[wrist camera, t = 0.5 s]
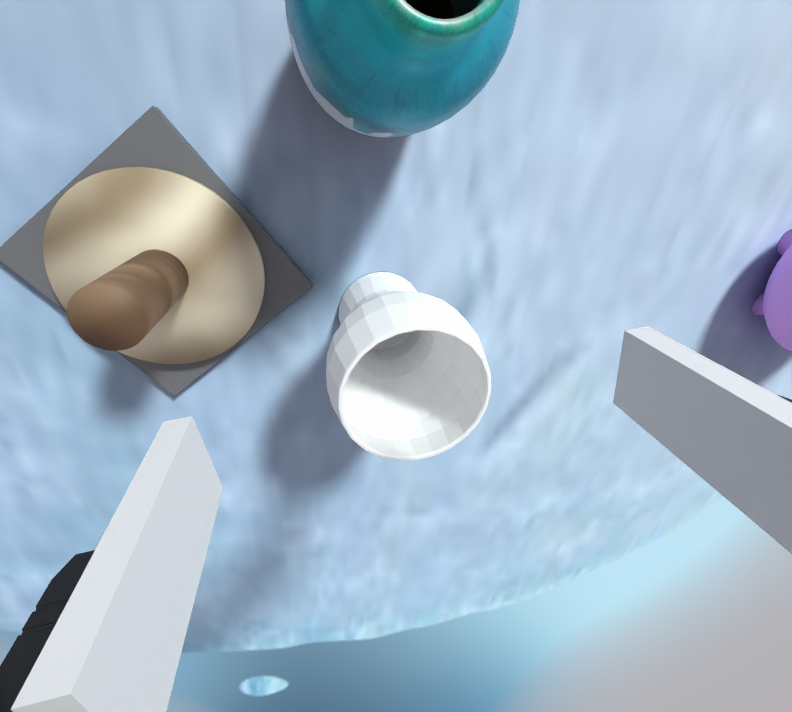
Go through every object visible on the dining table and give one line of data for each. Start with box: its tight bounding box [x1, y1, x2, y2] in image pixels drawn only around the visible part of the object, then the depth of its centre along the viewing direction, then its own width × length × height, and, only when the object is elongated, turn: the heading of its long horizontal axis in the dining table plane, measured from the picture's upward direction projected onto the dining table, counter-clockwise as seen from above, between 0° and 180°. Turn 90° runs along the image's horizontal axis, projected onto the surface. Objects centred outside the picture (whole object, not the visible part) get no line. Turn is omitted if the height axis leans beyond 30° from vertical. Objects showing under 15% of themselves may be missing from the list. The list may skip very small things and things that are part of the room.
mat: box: [0, 106, 312, 396], centre depth 33 cm, size 16×16×1 cm
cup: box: [326, 272, 491, 461], centre depth 31 cm, size 11×11×15 cm
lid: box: [43, 167, 265, 364], centre depth 28 cm, size 15×15×10 cm
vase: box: [285, 0, 520, 138], centre depth 21 cm, size 11×11×19 cm
